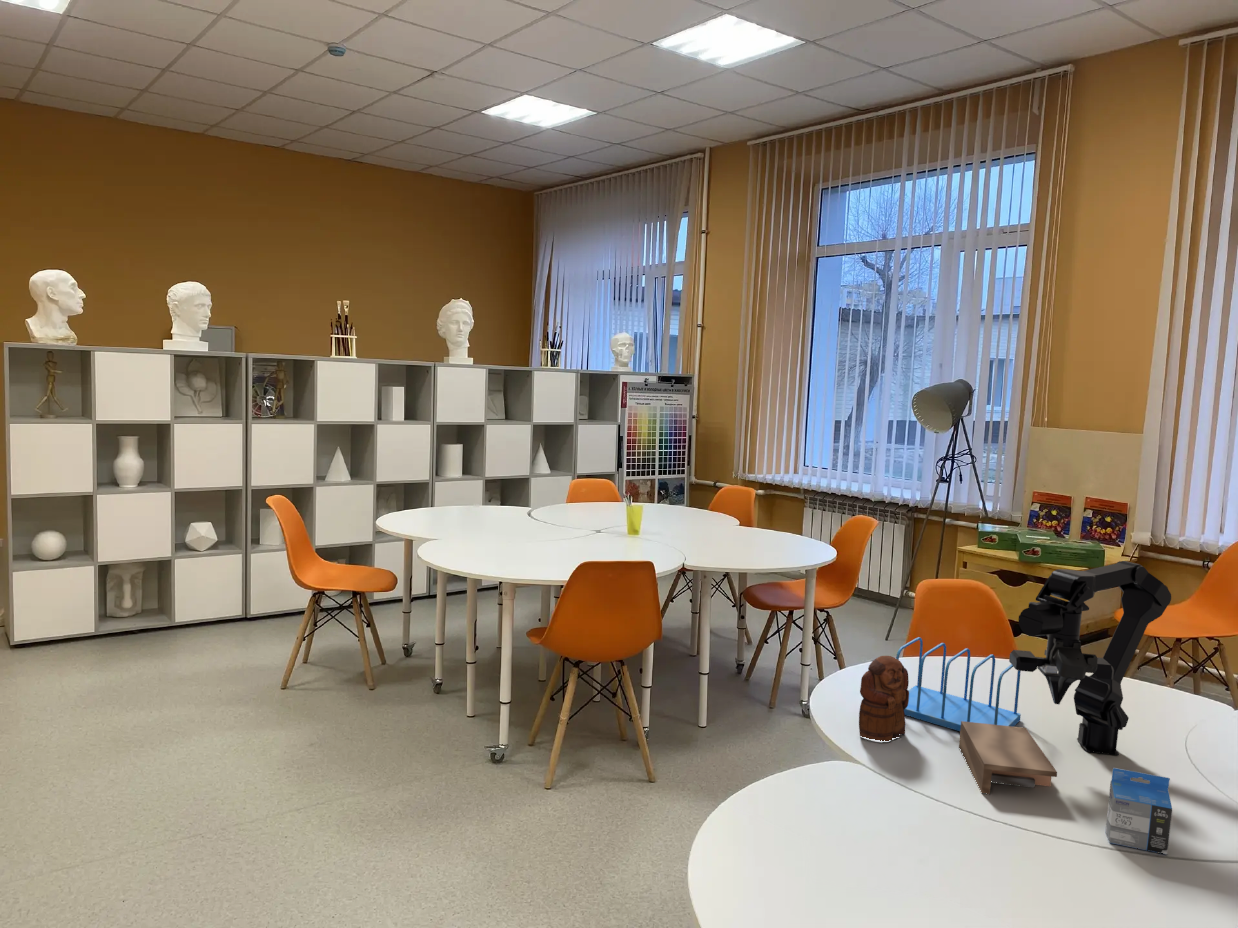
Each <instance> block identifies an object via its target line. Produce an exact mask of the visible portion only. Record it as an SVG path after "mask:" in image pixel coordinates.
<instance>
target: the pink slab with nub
mask: <svg viewBox="0 0 1238 928" xmlns="http://www.w3.org/2000/svg"><path fill="white" fill-rule="evenodd" d="M992 773H994V774H1003V775H1012V776H1020V777H1029V778H1034V779H1035V786H1044V787H1051V784H1052V776H1043V775H1034V774H1025V773H1017V772H1008V771H999V770H992Z"/></svg>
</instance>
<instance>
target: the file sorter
mask: <svg viewBox="0 0 1238 928" xmlns="http://www.w3.org/2000/svg"><path fill="white" fill-rule="evenodd" d="M918 641H919V657H918V658H919V659H918V672H917V683H916V684H917V685H914V686H912V687H911V688H910V689H907V690H908V691H909V702H908V706H907V708H906V709H904V713H905V716H908V717H910V716H911V718H913V717H914V719H917V720H920V719H921V721H922V722H927V723H931V724H935V725H938V726H941V727H943V728H947V729H951V730H954V731H957V732H960V729H961V721H965V722H974V723H984V724H993V725H1003V726H1012V727H1016V725H1017V724H1018V723H1019V722H1020V721H1021V715H1022V714H1021V713H1019V712H1018V704H1019V694H1020V693H1019V692H1020V682H1021V681H1020V679H1021V674H1022V673H1021V672H1022V671H1019V670H1017V673H1016V674H1017V675H1016V687H1015V696H1014V697H1015V698H1014V705H1013V707H1014V708H1013V710H1008V709H1005V708H1001V707H999V704H1000V693H1001V685H1002V680H1003V677H1004V675H1005V674H1006V673H1008V672H1009V671H1010V670H1011V669H1013V668H1014V667H1013V665H1012V664H1011V663H1010V665H1008V666H1007V667H1006V668H1005V669H1003V670H1002V671H1001V673H1000V674H999V677H998V681H997V686H996V687H997V688H996V697H995V706H994V705H992V704H993V700H992V699H993V692H994V682H995V679H994V678H995V669H996V656H995V655H994V654H989V655H988V656H987V657H985V658H984V659H982V660H980V662H978V663H977V664H976V665H975V666H974V667H973V669H972V672H971V675H970V666H971V650H970V649H969V648H968V647H967V648H966V647H965V648H964V649H963V650H961V651H960V652H958V653H957V654H954V655H953V656H952V657H950V658H949V660H947V663H946V658H947V657H946V656H947V645H946V643H944V642H941V643H938V644H937V645H936V646H934V647H933V648H931V649H929V650H928V651H927V652H925V653H924V654H923V649H924V648H923V645H924V644H923V639H922V637H919V636H918V637H916V638H914V639H912V640H911V641H908V642H907V643H906V644H903V645H902V646H900V647H899V649H898V650H897V653H896V657H895V658H896V659H898V660H899V661H900V656H901V652H902V651H903V650H904V649H906V648H907V647H909V646H911V645H913V644H914V643H916V642H918ZM941 647H943V657H942V665H941V666H942V667H941V676H940V677H941V678H940V679H941V680H940V690H939V691H938V690H936V689H931V688H929V687H928V688H927V687H923V686H922V683H923V682H922V681H923V672H924V662H925V659H926V658H927V657H928V656H929V655H930V654H931V653H933V652H934V651H936V650H937V649H940V648H941ZM965 653H967V659H966V669H965V671H966V673H965V683H964V684H965V685H964V694H963V697H961V696H958V695H953V694H950V693H947V690H948V689H947V685H948V675H949V668H950V665H951V663H952V662H953V661H955V660H956V659H957V658H958V657H960V656H962V655H963V654H965ZM989 660H992V663H991V664H992V665H991V674H990V675H991V676H990V686H989V687H990V688H989V697H988V704H987V703H984V702H980V701H976V700H973V693H974V692H973V691H974V689H973V688H974V682H975V681H974V679H975V675H976V671H977V669H978V668H979V667H981V666H982V665H983V664H985V663H986V662H987V661H989ZM969 677H970V681H969ZM969 683H970V684H969ZM968 687H969V692H968ZM968 693H969V695H968Z"/></svg>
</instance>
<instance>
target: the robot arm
mask: <svg viewBox="0 0 1238 928" xmlns="http://www.w3.org/2000/svg"><path fill="white" fill-rule="evenodd" d="M1117 587H1118V588H1119V589H1120V590H1121V592H1122V596H1121V598H1120V601H1121V607H1122V611H1123V614H1122V616H1121V618H1120V620H1119V622H1118V625H1117V627H1116V628H1115V631H1114V633H1113V635H1112V638H1111V639H1110V641H1109V643H1108V646H1107V648H1106V650H1105V652H1104V654H1103V657H1097V654H1094V653H1093V654H1092V653H1083V652H1082V641H1081V640H1080V636H1081V635H1080V633H1081V626H1082V625H1081V624H1082V615H1083V612H1087V611H1090V607H1089V606H1088V605H1087V604H1086V602H1087V601H1089V600H1090V599H1092V598H1094V596H1095V593H1097V592H1100V591H1101V592H1102V591H1105V590H1108V589H1113V588H1117ZM1171 601H1172V594H1171V591H1170V590H1169V588H1168V586H1167V585H1165V584H1164V582H1163V581H1161V580H1160V579H1159V578H1157V577H1155V576H1154V575H1153V574H1152V573H1151V572H1149V571H1148V570H1147V569H1146V567H1144V566H1143V565H1141V564H1140V563H1135V562H1130V561H1127V560H1122V561H1121V560H1119V561H1117V562H1115V563H1113V564H1109V565H1104V566H1100V567H1095V568H1091V569H1086V570H1074V569H1061V568H1060V569H1059V568H1057V569H1055V570H1054V571H1052V572H1051V574H1050V575H1049V576H1048V578H1047V579H1046V580H1045V582H1044V584H1043V586H1042V587H1041V588H1040V591H1038V594H1037V596H1036V597H1035V601H1030V602H1028V607H1027V608H1024V609H1022V611H1021V612H1020V614H1019V615H1018V626H1019V628H1020V630H1021V631H1022V632H1023V633H1024V635H1027V636H1029V637H1032V638H1033V637H1039V636H1040V637H1041V636H1046V637H1047V642H1046V649H1044V652H1043V653H1044V656H1045V657H1043V656H1040V657H1039V656H1035V654H1034V653H1032V651H1030V650H1021V649H1013V650H1012V651H1011V652H1010V653H1009V660H1008V662H1009V663H1010V665H1011V664H1012V665H1013V667H1012V668H1014V669H1015V670H1016V671H1018V670H1019V671H1021V672H1027V673H1028V672H1029V673H1033V672H1034V671H1037V670H1038V671H1039V672H1040V673H1041V674H1042V675H1043V676H1044V677H1045V678H1046V682H1047V684H1048V688H1049V691H1050V694H1051V698H1052V701H1053V703H1054V704H1055V705H1060V704H1061V702H1062V701H1063V698H1064V697H1065V695H1066V693H1067V691H1068V690H1069V688H1070V687H1071V686H1072V684H1073V683H1075V682H1077V681H1079V683H1078V685H1077V687H1076V688H1075V689H1074V695H1073V701H1074V707H1075V708H1074V709H1075V713H1076V715H1077V716H1081V717H1082V720H1081V722H1080V723H1079V724H1078V725H1079V726H1078V734H1077V735H1078V736H1077V738H1076V740H1077V742H1078V743H1079V744H1080V745H1081V747H1082V748H1083V749H1084V750H1085V751H1086V752H1087V753H1093V754H1103V755H1112V756H1120V752H1119V751H1118V749H1117V744H1118V737H1119V730H1120V731H1123V730H1124V728H1127V724H1128V721H1129V716H1128V714H1127V713H1126V712H1125V711H1124V709H1123V708H1122V703H1123V700H1124V695H1123V691H1122V685H1121V683H1122V681H1123V679H1124V677H1125V674H1126V672H1127V671H1128V668H1129V666H1130V664H1131V662H1132V659H1133V657H1134V655H1135V653H1136V651H1137V649H1138V646H1139V644H1140V643H1141V640H1142V638H1143V636H1144V634H1145V632H1146V629H1147V628H1148V626H1149V624H1150V623H1152V622H1154V621H1156V620H1157V619H1158V618H1160V617H1162V615H1164V614H1163V613H1164V612H1165V610H1166V609H1167V607H1169V605H1170V604H1171ZM1088 673H1089V674H1090V675H1086V674H1088Z"/></svg>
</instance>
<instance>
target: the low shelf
mask: <svg viewBox="0 0 1238 928" xmlns="http://www.w3.org/2000/svg"><path fill="white" fill-rule="evenodd" d="M959 748H960V749H961V751H960V753H961V752H962V753H963V755H962V757H963V756H964V757H965V759H966V761H965V763H966V762H967V763H966V765H967V764H968V765H967V767H968V766H969V767H968V769H969V768H970V769H969V771H970V770H971V771H970V773H971V772H972V773H971V775H972V774H973V775H972V777H973V776H974V777H973V779H974V778H975V779H974V781H975V780H976V781H975V783H976V782H977V783H976V785H977V784H978V785H977V787H978V786H979V787H978V789H979V788H980V789H979V791H980V790H981V791H980V793H981V792H982V793H987V794H986V795H990V794H991V785H992V783H991V781H992V782H995V783H994V784H998V783H1004V784H1003V785H1007V784H1011V785H1010V786H1016V785H1020V786H1019V787H1025V788H1035V786H1036V785H1035V779H1034V778H1029V777H1020V776H1012V775H1003V774H994V773H992V770H999V771H1008V772H1017V773H1025V774H1034V775H1043V776H1052V777H1053V778H1057V777H1058V776H1057V775H1058V771H1057V770H1056V769H1055V767H1054V766H1053V763H1051V761H1050V760H1049V758H1048V757H1047V756H1046V754H1045V753H1044V751H1043V749H1041V747H1040V746H1039V745H1038V743H1037V742H1036V740H1035V739H1034V737H1033V736H1032V735H1031V733H1030V732H1029V730H1028V729H1027V728H1026V727H1022V726H1021V727H1020V726H1014V727H1012V726H1003V725H993V724H984V723H974V722H965V721H961V729H960V731H959V740H958V749H959ZM960 749H959V750H960ZM962 753H961V754H962ZM964 757H963V758H964ZM965 759H964V760H965ZM1052 777H1051V778H1052ZM996 782H997V783H996ZM982 793H981V794H982Z"/></svg>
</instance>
